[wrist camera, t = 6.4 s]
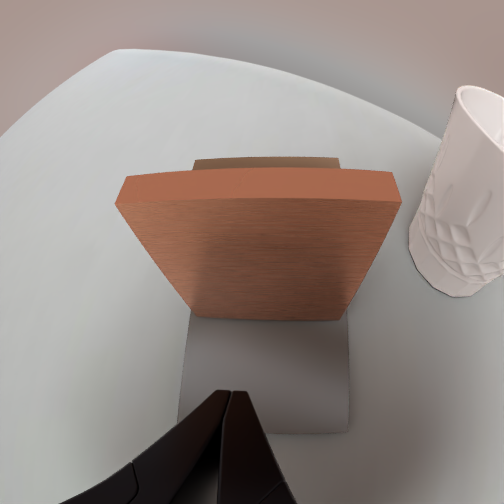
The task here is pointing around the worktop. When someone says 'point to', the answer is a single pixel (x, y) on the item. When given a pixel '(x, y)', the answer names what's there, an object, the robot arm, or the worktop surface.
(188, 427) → the robot arm
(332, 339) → the bearing block
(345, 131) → the worktop surface
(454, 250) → the white cup
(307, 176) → the copper wooden slab
